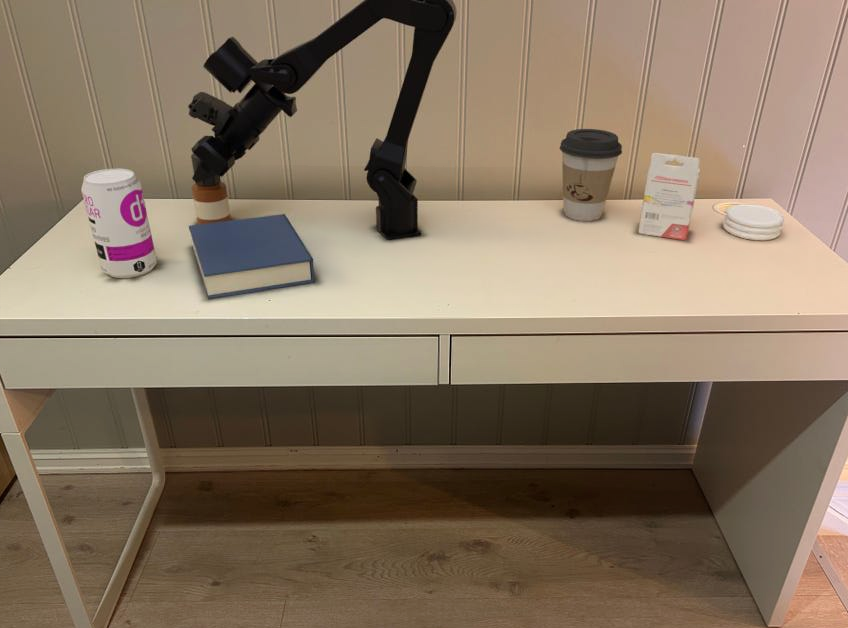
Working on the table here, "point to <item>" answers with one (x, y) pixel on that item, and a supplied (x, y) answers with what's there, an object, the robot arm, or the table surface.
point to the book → (250, 255)
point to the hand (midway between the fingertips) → (199, 176)
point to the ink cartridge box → (669, 196)
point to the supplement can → (119, 222)
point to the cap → (207, 182)
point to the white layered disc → (753, 222)
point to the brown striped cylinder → (211, 203)
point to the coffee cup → (588, 171)
